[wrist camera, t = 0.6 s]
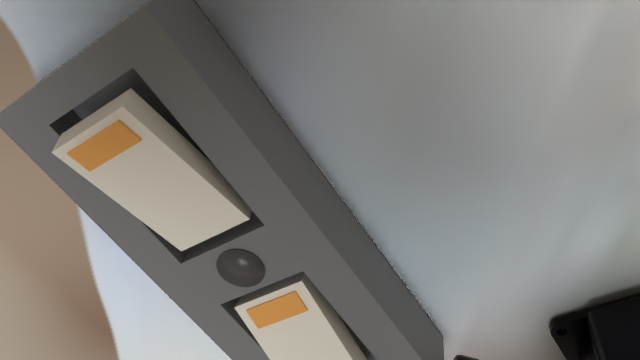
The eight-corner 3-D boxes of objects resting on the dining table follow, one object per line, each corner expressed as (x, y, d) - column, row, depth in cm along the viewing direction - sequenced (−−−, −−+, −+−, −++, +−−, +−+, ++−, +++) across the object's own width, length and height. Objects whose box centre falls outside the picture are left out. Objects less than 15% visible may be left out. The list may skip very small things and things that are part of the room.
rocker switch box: (443, 336, 28) (445, 391, 26) (309, 377, 32) (299, 429, 29) (178, -21, 20) (143, 7, 18) (36, 84, 24) (-11, 120, 21)
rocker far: (381, 382, 26) (377, 400, 25) (315, 401, 27) (309, 419, 26) (308, 268, 24) (301, 282, 23) (242, 294, 26) (233, 308, 25)
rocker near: (252, 200, 23) (249, 221, 22) (185, 232, 24) (181, 253, 24) (130, 88, 19) (121, 108, 18) (61, 134, 21) (50, 154, 20)
